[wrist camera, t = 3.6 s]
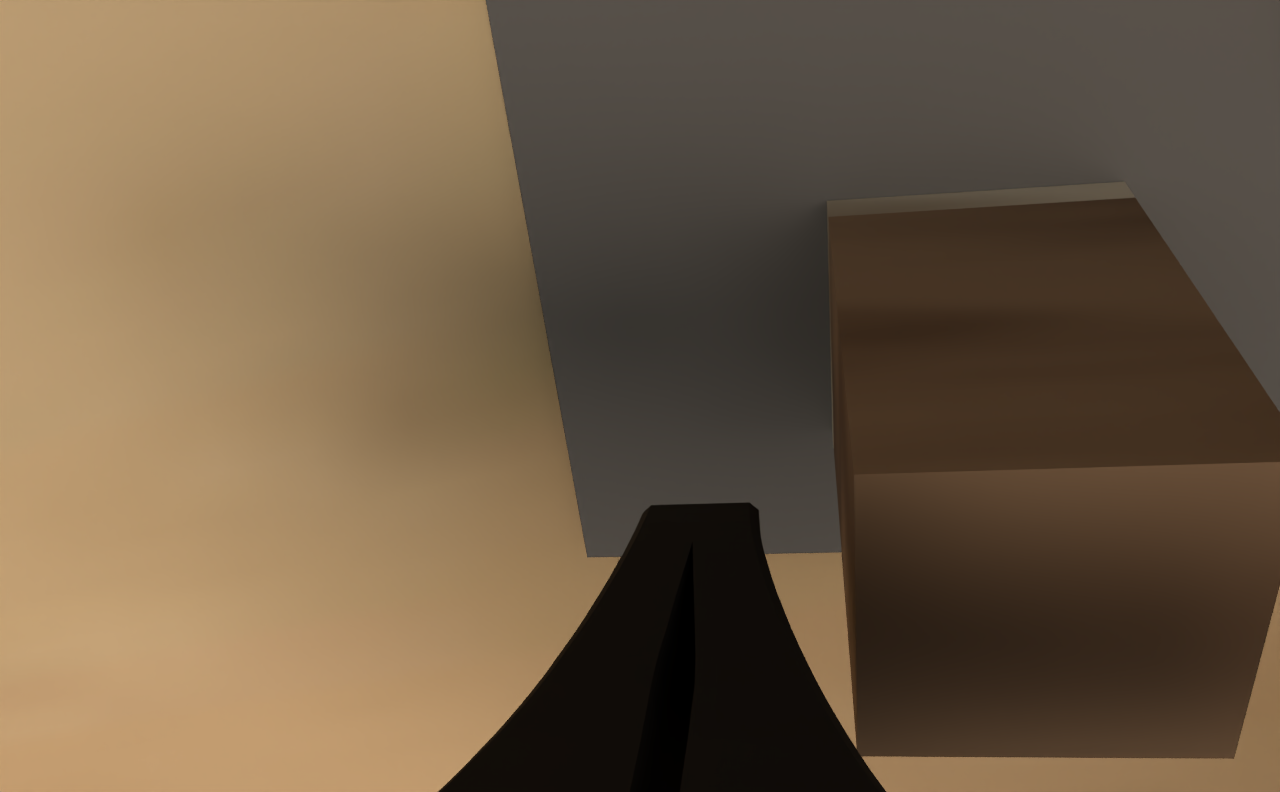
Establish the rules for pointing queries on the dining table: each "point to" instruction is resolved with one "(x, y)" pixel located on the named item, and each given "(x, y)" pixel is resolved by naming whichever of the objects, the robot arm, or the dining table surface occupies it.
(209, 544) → the dining table surface
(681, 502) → the felt mat
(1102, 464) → the walnut block
